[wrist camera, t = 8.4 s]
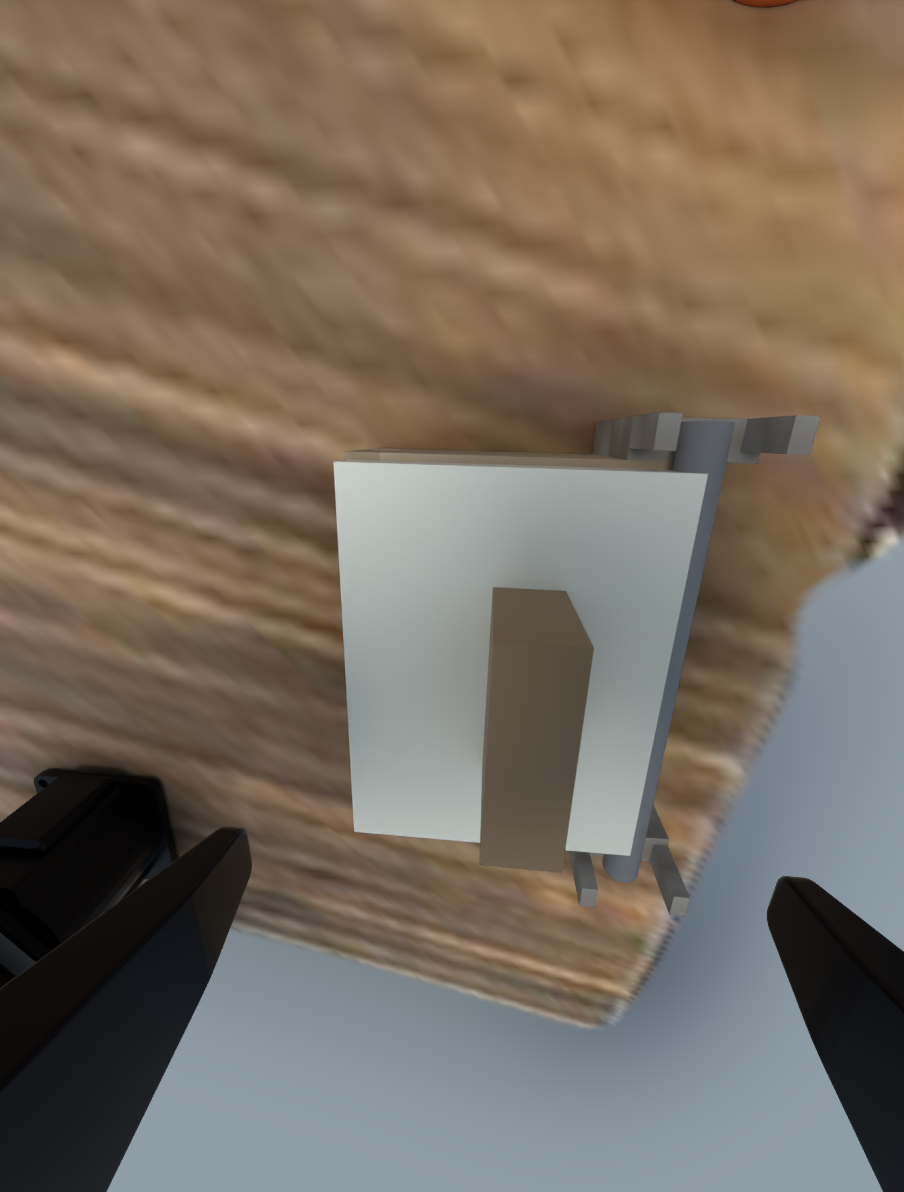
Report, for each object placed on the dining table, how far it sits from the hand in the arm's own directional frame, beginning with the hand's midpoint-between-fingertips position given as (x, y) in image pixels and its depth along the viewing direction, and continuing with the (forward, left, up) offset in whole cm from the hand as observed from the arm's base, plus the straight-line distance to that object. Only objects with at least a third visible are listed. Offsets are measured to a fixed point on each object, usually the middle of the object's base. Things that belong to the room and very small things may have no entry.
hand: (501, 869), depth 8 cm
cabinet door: (0, 0, -7) cm, 7 cm away
